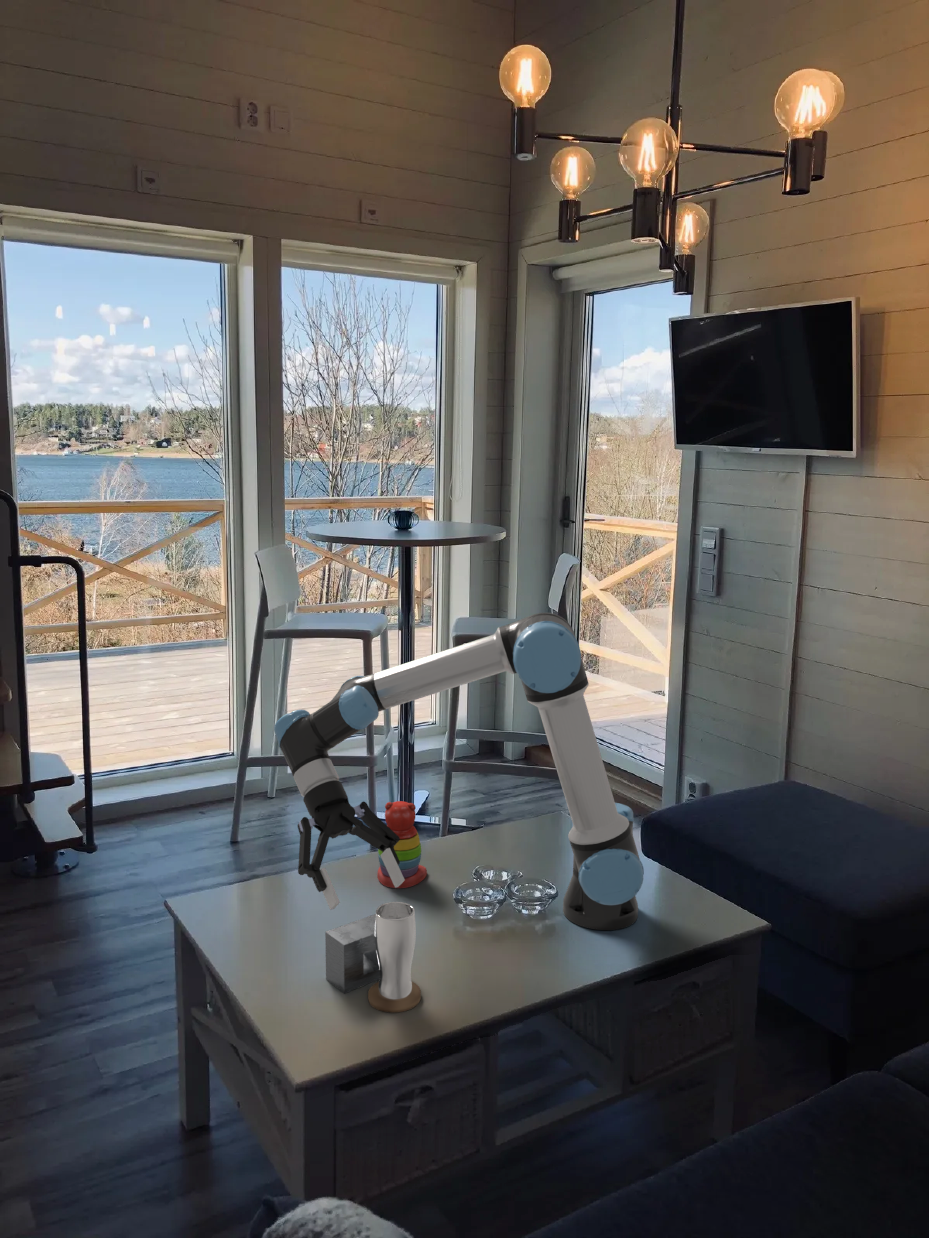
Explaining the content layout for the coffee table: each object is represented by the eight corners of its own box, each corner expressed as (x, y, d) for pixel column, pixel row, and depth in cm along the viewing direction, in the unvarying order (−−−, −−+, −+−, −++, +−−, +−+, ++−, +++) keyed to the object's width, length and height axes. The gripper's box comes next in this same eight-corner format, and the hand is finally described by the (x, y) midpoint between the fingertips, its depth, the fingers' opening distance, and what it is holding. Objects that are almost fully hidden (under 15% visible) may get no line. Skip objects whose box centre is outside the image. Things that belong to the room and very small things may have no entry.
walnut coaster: (424, 984, 171) (424, 979, 170) (416, 1014, 162) (416, 1008, 162) (373, 981, 171) (373, 976, 171) (363, 1010, 163) (363, 1005, 162)
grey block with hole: (326, 978, 172) (325, 931, 171) (381, 957, 180) (381, 911, 178) (344, 993, 168) (343, 944, 166) (400, 970, 175) (400, 924, 174)
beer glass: (370, 985, 168) (369, 904, 166) (408, 977, 171) (408, 898, 168) (381, 1006, 162) (381, 923, 159) (420, 998, 164) (421, 916, 162)
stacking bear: (428, 871, 217) (429, 795, 214) (419, 891, 207) (420, 811, 204) (381, 867, 218) (381, 792, 215) (370, 887, 208) (370, 808, 205)
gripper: (369, 784, 188) (416, 883, 179) (253, 814, 172) (298, 924, 163) (385, 765, 183) (434, 866, 174) (267, 794, 167) (314, 906, 158)
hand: (368, 895), depth 169 cm, fingers open, 13 cm apart
